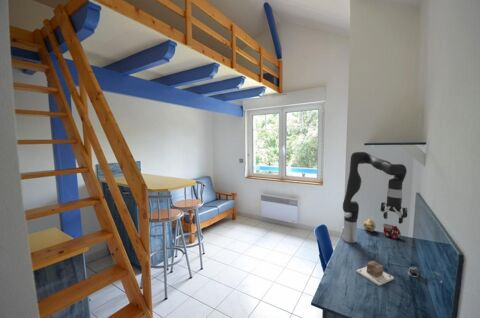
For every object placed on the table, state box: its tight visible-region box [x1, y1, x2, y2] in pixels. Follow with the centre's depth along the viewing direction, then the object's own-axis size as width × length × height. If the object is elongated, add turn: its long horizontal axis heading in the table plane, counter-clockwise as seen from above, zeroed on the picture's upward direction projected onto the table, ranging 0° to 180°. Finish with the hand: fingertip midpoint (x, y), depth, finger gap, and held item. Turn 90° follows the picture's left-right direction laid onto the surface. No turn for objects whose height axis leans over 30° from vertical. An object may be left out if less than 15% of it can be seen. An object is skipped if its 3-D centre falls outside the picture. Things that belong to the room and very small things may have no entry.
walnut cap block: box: [366, 260, 384, 278], centre depth 129 cm, size 6×6×6 cm
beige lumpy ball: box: [362, 218, 376, 233], centre depth 194 cm, size 10×12×11 cm
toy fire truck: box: [382, 223, 402, 240], centre depth 182 cm, size 7×12×10 cm, turn 47°
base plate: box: [356, 265, 395, 287], centre depth 129 cm, size 14×14×3 cm
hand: (392, 221), depth 133 cm, fingers open, 8 cm apart
